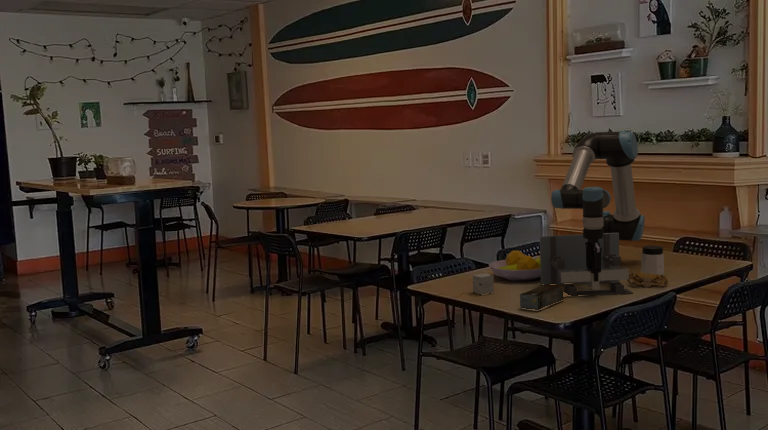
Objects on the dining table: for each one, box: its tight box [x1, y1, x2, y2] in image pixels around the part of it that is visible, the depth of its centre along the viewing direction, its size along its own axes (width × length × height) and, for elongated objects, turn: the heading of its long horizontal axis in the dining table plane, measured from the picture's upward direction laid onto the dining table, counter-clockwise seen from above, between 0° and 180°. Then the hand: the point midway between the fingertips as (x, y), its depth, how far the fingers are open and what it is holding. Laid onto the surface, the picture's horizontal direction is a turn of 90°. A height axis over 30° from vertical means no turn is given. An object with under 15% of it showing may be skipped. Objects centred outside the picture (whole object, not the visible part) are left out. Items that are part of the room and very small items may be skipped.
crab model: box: [626, 272, 669, 289], centre depth 306 cm, size 16×13×6 cm
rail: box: [559, 266, 630, 283], centre depth 294 cm, size 4×26×4 cm, turn 91°
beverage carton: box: [519, 284, 565, 310], centre depth 281 cm, size 8×19×7 cm, turn 139°
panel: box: [539, 233, 622, 286], centre depth 307 cm, size 14×32×20 cm, turn 91°
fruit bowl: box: [488, 249, 541, 282], centre depth 329 cm, size 28×27×11 cm
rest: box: [563, 281, 634, 296], centre depth 295 cm, size 7×28×4 cm, turn 92°
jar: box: [641, 245, 665, 276], centre depth 322 cm, size 9×8×12 cm
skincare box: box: [472, 272, 495, 295], centre depth 304 cm, size 6×6×7 cm
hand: (593, 288), depth 295 cm, fingers closed on rail, 3 cm apart
